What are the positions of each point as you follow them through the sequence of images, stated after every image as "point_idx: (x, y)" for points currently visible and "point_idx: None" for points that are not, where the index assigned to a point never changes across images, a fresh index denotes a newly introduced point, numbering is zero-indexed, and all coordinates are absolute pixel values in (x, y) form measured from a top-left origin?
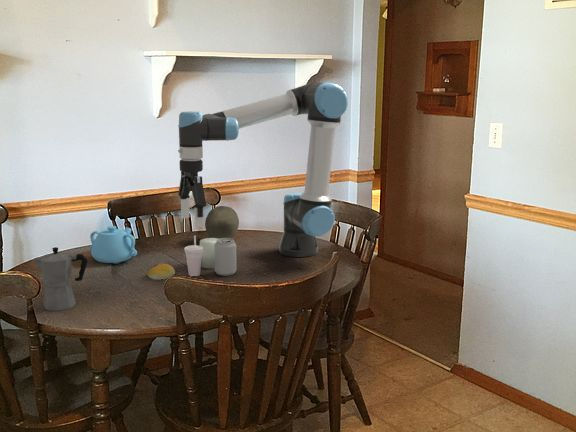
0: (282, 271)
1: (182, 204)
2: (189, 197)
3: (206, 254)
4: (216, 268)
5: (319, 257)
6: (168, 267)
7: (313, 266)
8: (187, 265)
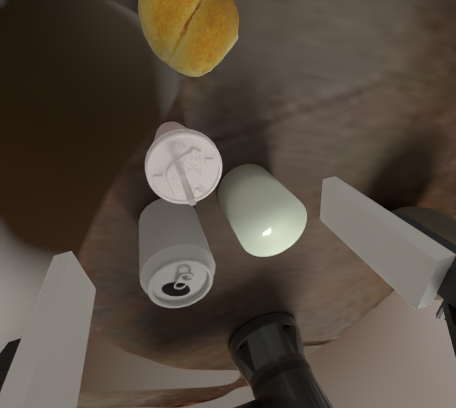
0: (153, 320)
1: (395, 236)
2: (440, 316)
3: (235, 195)
4: (157, 206)
5: (220, 362)
6: (187, 51)
7: (172, 358)
8: (175, 125)
